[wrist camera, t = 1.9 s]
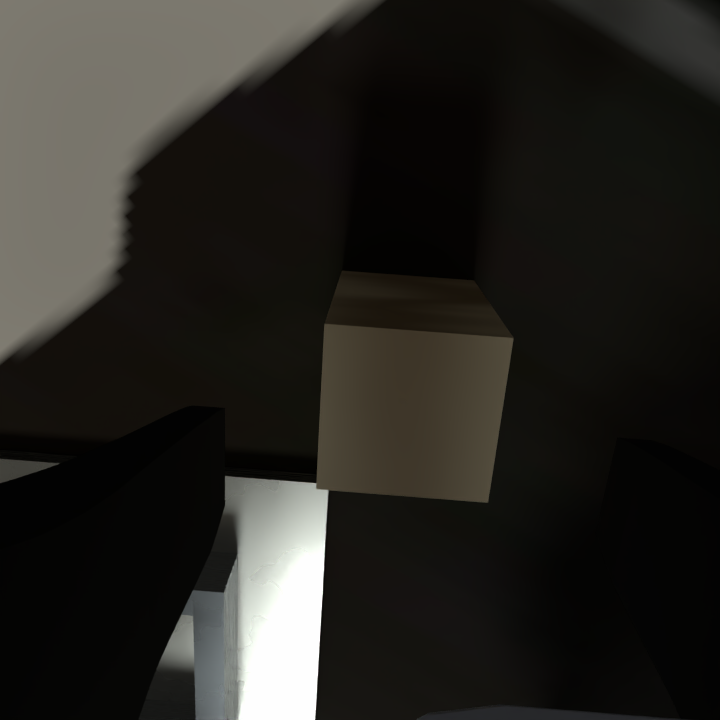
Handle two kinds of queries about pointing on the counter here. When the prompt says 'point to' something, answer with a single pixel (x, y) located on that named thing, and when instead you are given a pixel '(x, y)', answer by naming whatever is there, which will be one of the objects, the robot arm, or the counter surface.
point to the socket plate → (242, 603)
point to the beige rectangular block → (411, 387)
